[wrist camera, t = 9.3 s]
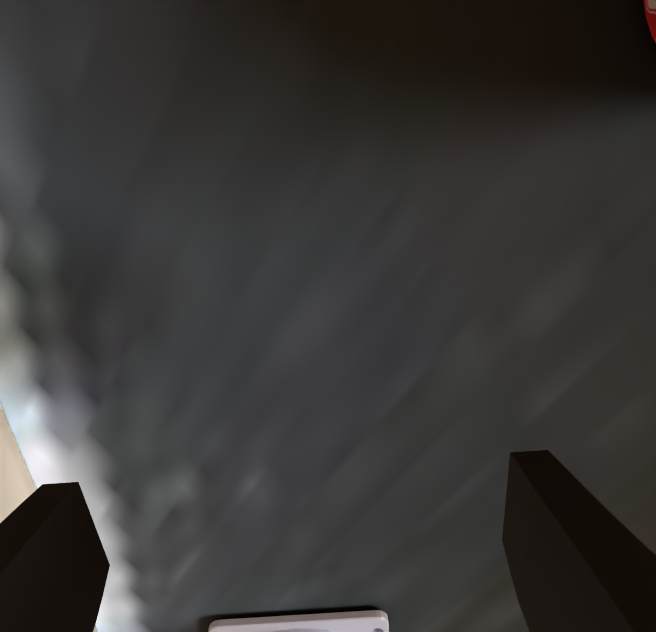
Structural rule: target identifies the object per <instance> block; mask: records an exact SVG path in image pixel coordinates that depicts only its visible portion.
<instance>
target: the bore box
mask: <svg viewBox="0 0 656 632" xmlns="http://www.w3.org/2000/svg"><path fill="white" fill-rule="evenodd" d="M36 490H37V488H36V486H35V484H34V481H33V479H32V477H31V474H30V472H29V470H28V467H27V465H26V463H25V460H24V458H23V456H22V453H21V451H20V449H19V446H18V444H17V442H16V439H15V437H14V435H13V432H12V430H11V428H10V425H9V423H8V421H7V418H6V416H5V414H4V411H3V409H2V407H1V404H0V523H1V522H2V521H3V520H4V519H5V518H6V517H7V516H8V515H9V514H11V513H12V512H13V511H14V510H15V509H16V508H17V507H18V506H19V505H20V504H21V503H22V502H23V501H25V500H26V499H27V498H28V497H29V496H30V495H31V494H32V493H33V492H35V491H36ZM93 632H98V631H97V628H96V626H95V627H94V630H93Z"/></svg>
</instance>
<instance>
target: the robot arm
mask: <svg viewBox="0 0 656 632" xmlns="http://www.w3.org/2000/svg"><path fill="white" fill-rule="evenodd" d="M502 541H503V545H504V549H505V553H506V557H507V561H508V565H509V569H510V572H511V576H512V580H513V584H514V587H515V591H516V595H517V598H518V602H519V604H520V607H521V610H522V613H523V615H524V618H525V621H526V623H527V626H528V628H529V631H530V632H656V554H655V553H654V552H653V551H652V550H650V549H649V548H648V547H647V546H646V545H645V544H644V543H643V542H642V541H641V540H640V539H639V538H637V537H636V536H635V535H634V534H633V533H632V532H631V531H630V530H629V529H628V528H627V527H626V526H625V525H624V524H623V523H622V522H620V521H619V520H618V519H617V518H616V517H615V516H614V515H613V514H612V513H611V512H610V511H609V510H608V509H607V508H606V507H605V506H604V505H603V504H602V503H601V502H600V501H599V500H598V499H597V498H596V497H595V496H594V495H593V494H592V493H591V492H590V491H589V490H588V489H587V488H586V487H585V486H584V485H583V484H582V483H581V482H580V481H579V480H578V479H577V478H576V477H575V476H574V475H573V474H572V473H571V472H570V471H569V470H568V469H567V468H566V467H565V466H564V465H563V464H562V463H561V462H560V461H559V460H558V459H557V458H556V457H555V456H554V455H553V454H552V453H551V452H549V451H548V450H541V451H526V452H512V453H510V462H509V472H508V483H507V494H506V504H505V515H504V526H503V537H502ZM109 566H110V564H109V562H108V559H107V557H106V554H105V551H104V549H103V546H102V543H101V541H100V538H99V535H98V533H97V530H96V528H95V525H94V522H93V520H92V517H91V514H90V512H89V509H88V506H87V504H86V501H85V499H84V496H83V493H82V491H81V488H80V485H79V483H78V482H71V483H57V484H43V485H41V486H40V487H39V488H38V489H37V490H36V491H35V492H33V493H32V494H31V495H30V496H29V497H28V498H27V499H26V500H25V501H23V502H22V503H21V504H20V505H19V506H18V507H17V508H16V509H15V510H14V511H13V512H12V513H11V514H9V515H8V516H7V517H6V518H5V519H4V520H3V521H2V522H1V523H0V632H93V630H94V627H95V623H96V620H97V616H98V612H99V608H100V604H101V600H102V596H103V592H104V588H105V583H106V579H107V575H108V570H109ZM208 632H389V623H388V616H387V614H386V613H385V612H383V611H381V610H368V611H352V612H336V613H319V614H303V615H287V616H271V617H254V618H238V619H222V620H215V621H213V622H211V624H210V625H209V631H208Z"/></svg>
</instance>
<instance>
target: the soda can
mask: <svg viewBox="0 0 656 632" xmlns="http://www.w3.org/2000/svg"><path fill="white" fill-rule="evenodd" d="M644 7H645V14H646V19H647V22H648V25H649V28H650V31H651V35H652V37H653V39H654V41H655V43H656V0H644Z"/></svg>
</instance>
